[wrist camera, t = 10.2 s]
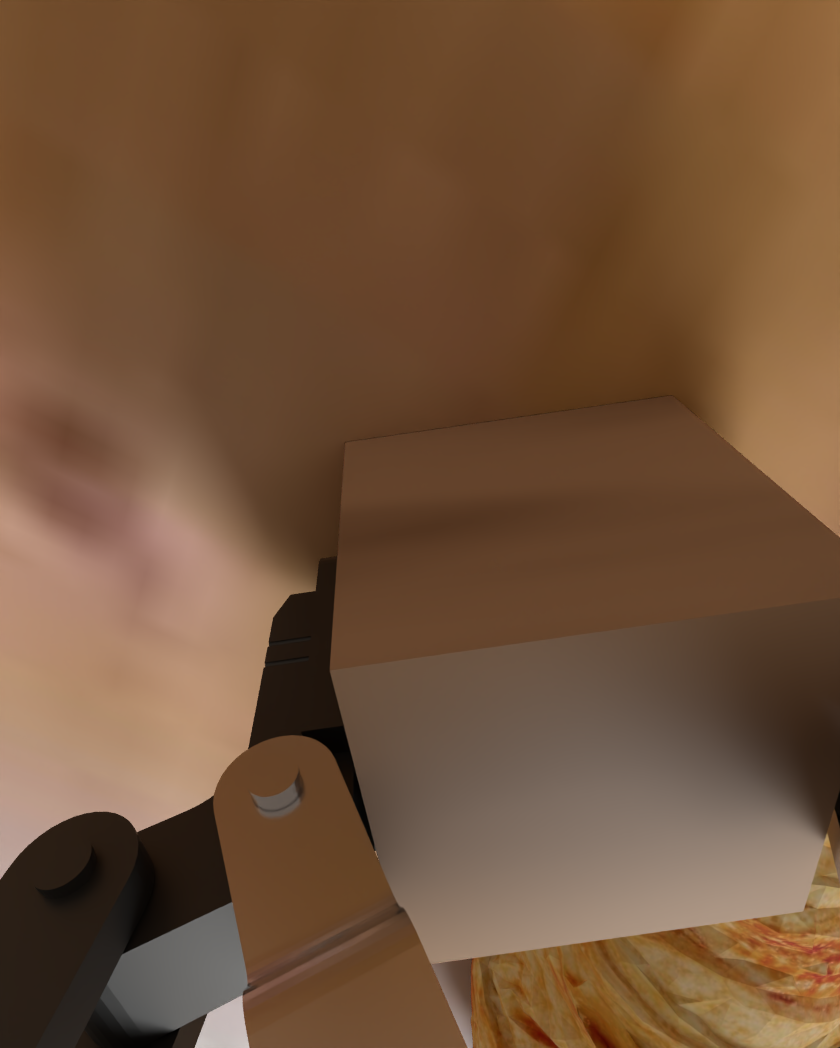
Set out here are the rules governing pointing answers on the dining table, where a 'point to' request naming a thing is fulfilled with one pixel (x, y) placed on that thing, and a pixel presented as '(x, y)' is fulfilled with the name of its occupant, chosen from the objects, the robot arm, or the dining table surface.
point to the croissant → (674, 985)
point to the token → (585, 677)
